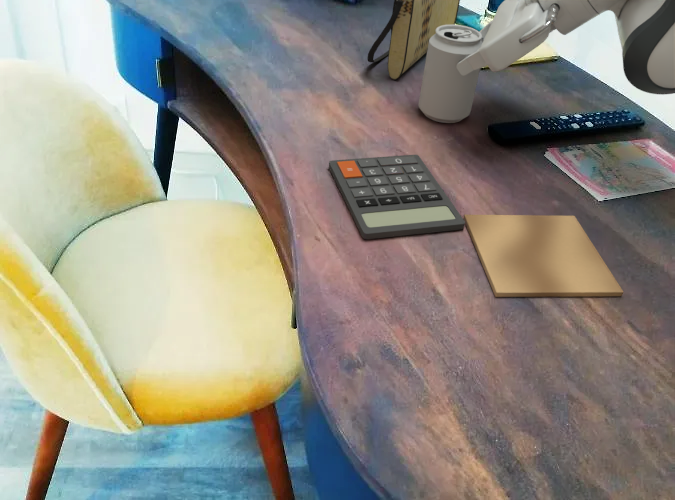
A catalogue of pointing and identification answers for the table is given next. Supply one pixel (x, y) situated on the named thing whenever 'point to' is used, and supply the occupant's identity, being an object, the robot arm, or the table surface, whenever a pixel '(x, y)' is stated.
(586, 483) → the table surface
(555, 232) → the cork mat
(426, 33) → the clutch purse
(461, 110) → the can
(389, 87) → the table surface
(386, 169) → the calculator
